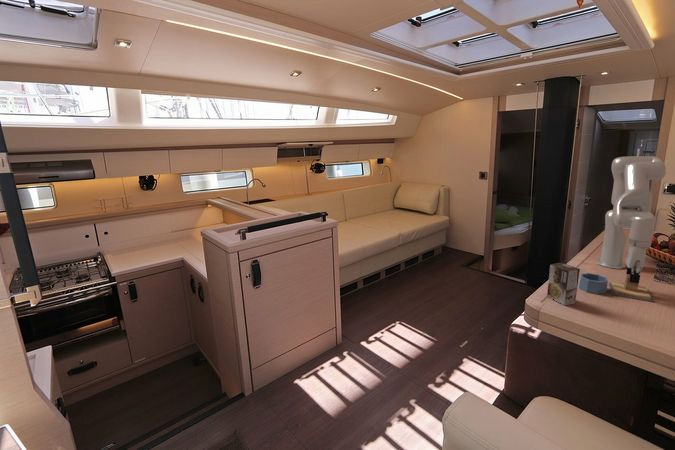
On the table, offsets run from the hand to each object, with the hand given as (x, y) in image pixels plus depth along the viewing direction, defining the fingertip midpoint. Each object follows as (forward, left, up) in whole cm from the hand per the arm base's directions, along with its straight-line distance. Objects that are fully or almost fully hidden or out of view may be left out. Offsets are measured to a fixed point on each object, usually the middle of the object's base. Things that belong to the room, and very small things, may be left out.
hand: (632, 278), depth 148 cm
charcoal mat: (0, 0, -7) cm, 7 cm away
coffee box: (+24, -26, -7) cm, 36 cm away
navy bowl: (+4, -14, -7) cm, 16 cm away
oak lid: (0, 0, -6) cm, 6 cm away
